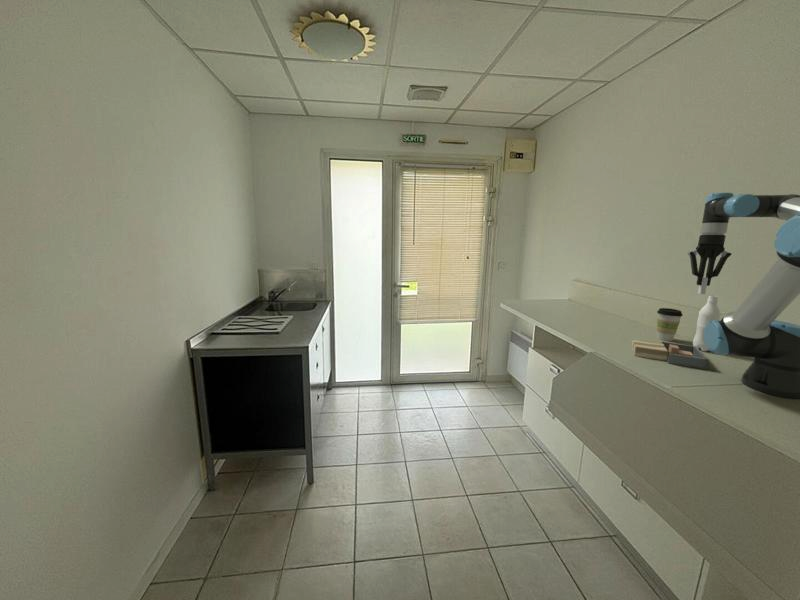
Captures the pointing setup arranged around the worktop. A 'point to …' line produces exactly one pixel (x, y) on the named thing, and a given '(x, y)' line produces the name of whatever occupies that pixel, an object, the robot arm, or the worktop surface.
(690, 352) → the tile
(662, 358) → the board
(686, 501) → the worktop surface
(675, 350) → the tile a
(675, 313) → the coffee cup
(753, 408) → the worktop surface
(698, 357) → the tray
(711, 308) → the water bottle
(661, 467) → the worktop surface
